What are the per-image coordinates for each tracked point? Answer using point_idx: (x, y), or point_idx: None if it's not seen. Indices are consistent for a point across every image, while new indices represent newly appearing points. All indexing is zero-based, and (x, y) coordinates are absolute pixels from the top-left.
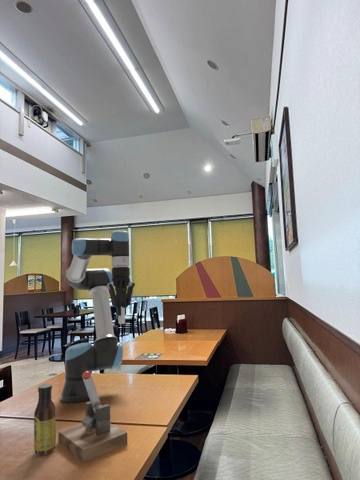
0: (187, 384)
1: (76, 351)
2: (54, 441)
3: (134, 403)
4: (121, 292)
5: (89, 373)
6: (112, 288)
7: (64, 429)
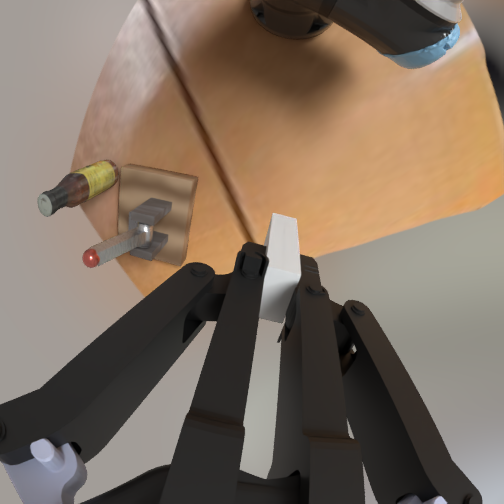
0: (464, 203)
1: None
2: (107, 188)
3: (328, 154)
4: (295, 423)
5: (91, 267)
6: (74, 445)
7: (129, 170)
